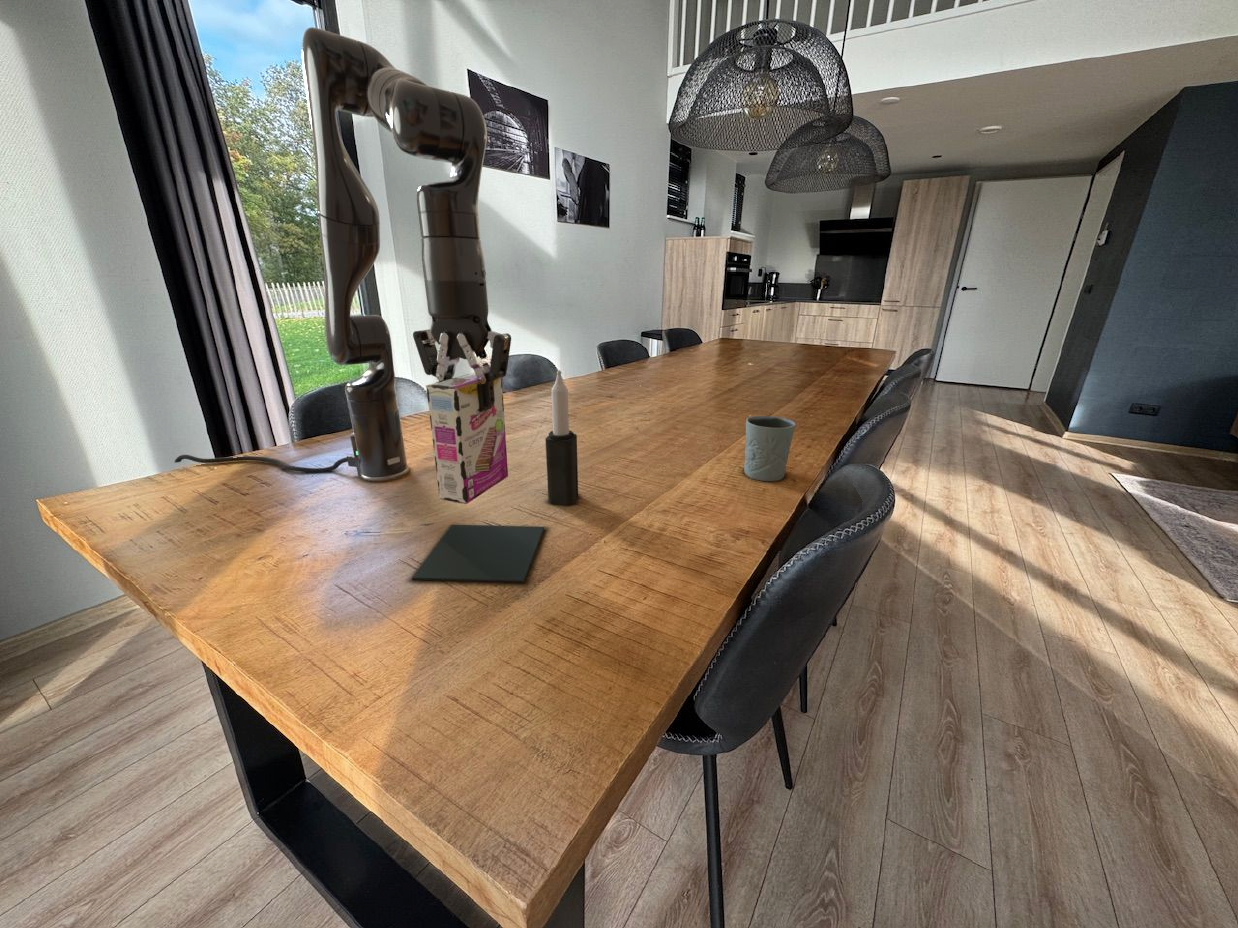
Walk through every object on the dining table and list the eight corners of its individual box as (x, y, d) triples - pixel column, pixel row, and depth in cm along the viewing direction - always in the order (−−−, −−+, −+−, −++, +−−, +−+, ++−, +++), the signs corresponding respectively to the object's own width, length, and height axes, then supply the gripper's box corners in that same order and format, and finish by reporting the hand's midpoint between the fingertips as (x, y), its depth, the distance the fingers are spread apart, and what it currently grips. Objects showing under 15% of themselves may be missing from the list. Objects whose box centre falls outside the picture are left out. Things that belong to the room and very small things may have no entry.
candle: (572, 505, 93) (568, 373, 84) (546, 503, 93) (540, 372, 85) (579, 494, 97) (576, 368, 88) (555, 492, 98) (549, 367, 89)
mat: (412, 580, 70) (411, 577, 69) (452, 526, 85) (451, 524, 84) (523, 583, 69) (523, 580, 69) (544, 528, 84) (544, 526, 84)
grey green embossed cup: (737, 478, 106) (742, 424, 102) (744, 463, 115) (749, 413, 110) (786, 485, 102) (794, 430, 98) (790, 469, 111) (797, 418, 107)
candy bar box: (468, 505, 67) (455, 387, 62) (438, 500, 69) (422, 385, 63) (511, 476, 77) (503, 372, 71) (483, 472, 79) (473, 370, 73)
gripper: (387, 277, 61) (407, 410, 67) (489, 278, 57) (500, 419, 63) (426, 277, 68) (441, 398, 74) (519, 278, 64) (527, 405, 70)
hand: (468, 407), depth 69 cm, fingers closed on candy bar box, 5 cm apart
